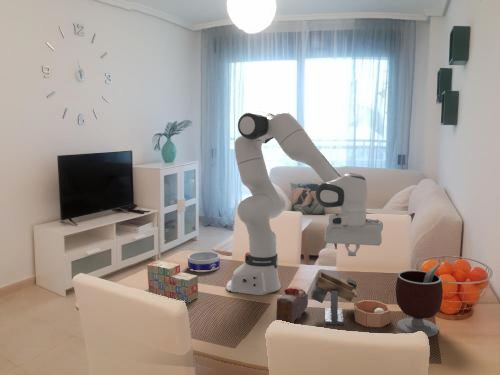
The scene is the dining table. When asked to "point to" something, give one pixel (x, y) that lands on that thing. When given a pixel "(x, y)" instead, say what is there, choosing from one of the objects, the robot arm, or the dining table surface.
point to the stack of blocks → (171, 281)
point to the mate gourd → (419, 299)
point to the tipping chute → (333, 287)
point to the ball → (379, 310)
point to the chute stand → (334, 311)
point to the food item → (291, 304)
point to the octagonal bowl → (371, 313)
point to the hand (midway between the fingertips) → (351, 255)
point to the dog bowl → (203, 260)
